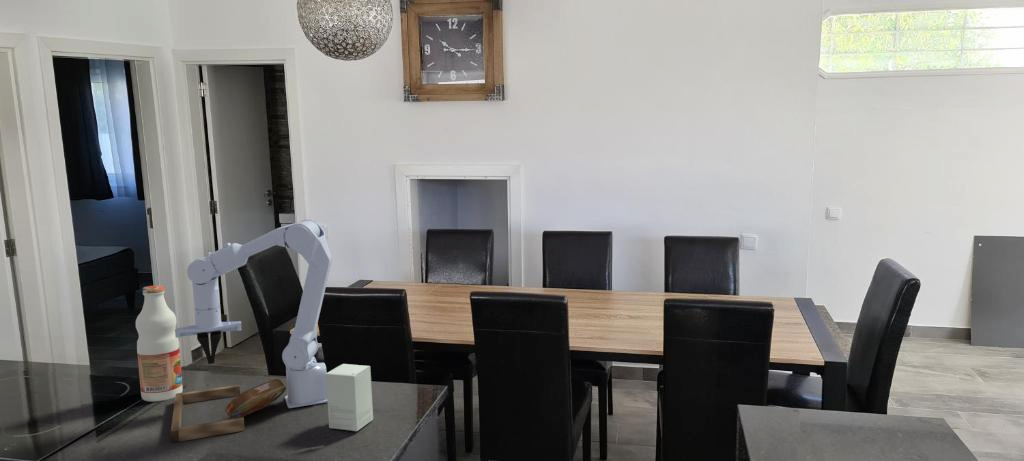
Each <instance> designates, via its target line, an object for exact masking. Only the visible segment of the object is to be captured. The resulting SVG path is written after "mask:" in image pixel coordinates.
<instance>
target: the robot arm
mask: <svg viewBox="0 0 1024 461" xmlns="http://www.w3.org/2000/svg"><path fill="white" fill-rule="evenodd" d="M222 246H223V247H222V248H220V249H218V250H216V251H213V252H211V251H209V252H207V253H205V256H204V257H201V258H197V259H194V260H193V261H192V262H190V264H189V265H188V266H187V269H186V274H187V277H188V278H189V280H190V281H191V284H192V297H193V311H194V324H193V325H188V326H181V327H176V328H175V337H176V338H178V339H179V338H181V337H188V336H196V340H197V342H198V343H199V344H200V346H201V348H202V350H203V351H204V353H205V357H206V359H207V364H208V365H212V364H215V363H216V362H215V360H216V358H215V357H216V353H217V349H218V346H219V344H220V341H221V338H222V333H223V332H234V331H237V332H240V331H243V330H242V321H241V320H239V321H222V313H221V304H220V303H221V301H220V300H221V298H220V288H219V287H220V286H219V277H220V276H223V275H225V274H228V273H230V272H233V271H234V270H236V269H238V268H241V267H244V266H245V265H246V264H247V262H248V260H249V257H251V256H254V255H256V254H258V253H261V252H263V251H265V250H267V249H270V248H272V247H274V246H279V247H283V248H286V247H287V246H288V247H289V248H291V250H293V251H294V252H296V253H298V254H300V256H302V257H303V259H304V260H305V262H306V263H307V264H308V268H307V272H306V277H305V281H304V286H303V291H302V294H301V298H300V304H299V307H298V308H299V309H298V312H297V317H296V321H295V326H294V328H293V330H292V333H291V335H290V337H289V341H288V344H287V345H286V347H285V348H284V349H283V351H282V354H281V358H282V362H283V363H284V365H285V373H286V376H285V377H286V391H287V392H286V393H287V395H286V396H284V400H285V403H286V407H287V408H288V409H293V408H294V409H295V408H299V407H304V406H312V405H317V404H324V403H327V387H326V373H328V372H327V366H326V364H325V362H317V359H316V357H315V355H316V354H317V352H318V349H319V343H318V339H317V338H318V334H319V333H318V329H317V327H318V322H319V318H320V313H321V309H322V306H323V301H324V298H325V291H326V287H327V285H328V284H327V283H328V279H329V275H330V270H331V265H332V262H333V256H332V253H331V250H330V247H329V244H328V242H327V237H326V232H325V230H324V228H322V227H321V225H320V224H319V223H318V222H316V221H315V220H313V219H303V220H301V221H299V222H298V223H297V222H294V223H291V224H287V225H284V226H281V227H277V228H275V229H273V230H271V231H269V232H267V233H265V234H263V235H260V236H259V237H256V238H254V239H253V240H251V241H249V242H247V243H244V244H240V243H236V242H234V243H230V242H227V243H225V244H223V245H222Z"/></svg>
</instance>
